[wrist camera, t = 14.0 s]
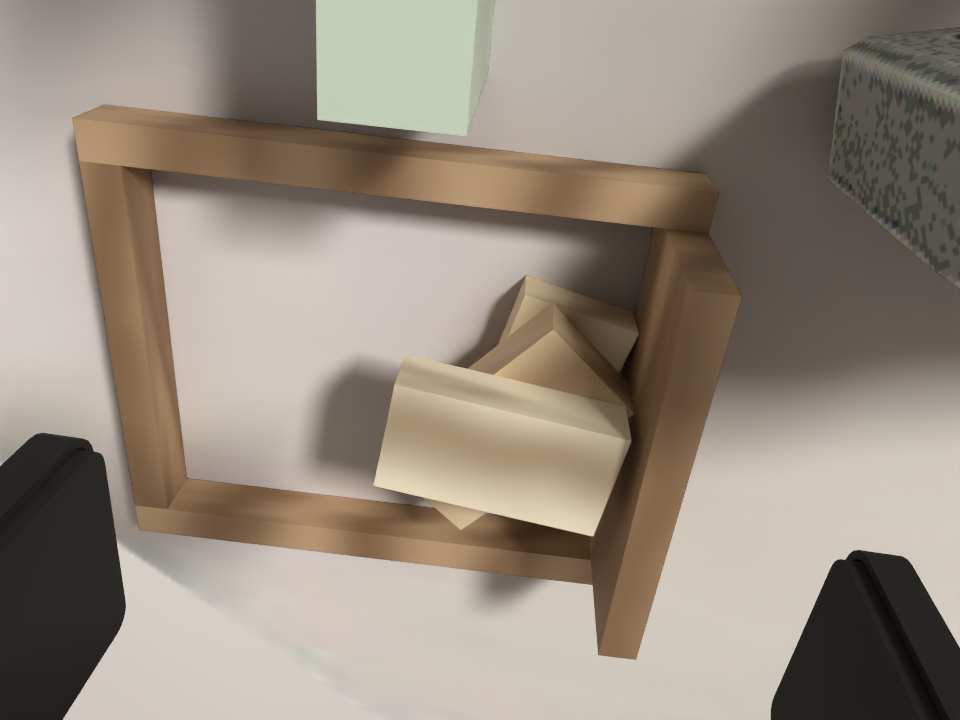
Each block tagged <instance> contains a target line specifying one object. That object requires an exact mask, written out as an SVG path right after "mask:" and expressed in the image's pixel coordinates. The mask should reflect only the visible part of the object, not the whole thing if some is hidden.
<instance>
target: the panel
mask: <svg viewBox="0 0 960 720" xmlns="http://www.w3.org/2000/svg"><path fill="white" fill-rule="evenodd" d="M494 3H495V0H316V55H317V120H323V121H332V122H341V123H350V124H359V125H368V126H377V127H386V128H396V129H405V130H414V131H423V132H432V133H441V134H450V135H459V136H467V133H468V130H469V128H470V125H471V122H472V119H473V116H474V113H475V110H476V107H477V104H478V101H479V98H480V95H481V92H482V89H483V86H484V83H485V80H486V77H487V74H488V68H489V57H490V46H491V36H492V25H493V14H494Z"/></svg>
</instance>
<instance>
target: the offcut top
mask: <svg viewBox="0 0 960 720" xmlns="http://www.w3.org/2000/svg"><path fill="white" fill-rule="evenodd" d="M631 441H632V440H631V435H630V429H629V423H628V418H627V412H626V407H625V406H620V405H616V404H612V403H608V402H604V401H600V400H595V399H591V398H587V397H583V396H579V395H575V394H570V393H566V392H562V391H558V390H554V389H550V388H545V387H541V386H537V385H533V384H529V383H524V382H520V381H516V380H512V379H508V378H503V377H499V376H495V375H491V374H487V373H483V372H479V371H475V370H470V369H466V368H462V367H458V366H454V365H449V364H445V363H441V362H437V361H433V360H429V359H424V358H420V357H416V356H412V355H408V354H405V355H404V358H403V361H402V364H401V367H400V370H399V373H398V376H397V379H396V382H395V385H394V390H393V394H392V399H391V404H390V409H389V414H388V418H387V423H386V428H385V433H384V437H383V442H382V447H381V452H380V457H379V461H378V466H377V471H376V476H375V480H374V485H373V486H376V487H381V488H385V489H389V490H394V491H398V492H402V493H407V494H411V495H415V496H420V497H424V498H428V499H433V500H437V501H441V502H446V503H450V504H454V505H459V506H463V507H467V508H471V509H476V510H480V511H484V512H489V513H493V514H497V515H502V516H506V517H510V518H515V519H519V520H523V521H528V522H532V523H536V524H541V525H545V526H549V527H554V528H558V529H562V530H567V531H571V532H575V533H580V534H584V535H588V536H594V533H595V531H596V528H597V526H598V523H599V521H600V518H601V516H602V513H603V511H604V508H605V506H606V503H607V501H608V498H609V496H610V493H611V491H612V488H613V486H614V483H615V481H616V478H617V476H618V473H619V471H620V468H621V466H622V464H623V461H624V459H625V456H626V454H627V451H628V449H629V446H630V444H631Z"/></svg>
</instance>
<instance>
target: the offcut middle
mask: <svg viewBox="0 0 960 720" xmlns="http://www.w3.org/2000/svg"><path fill="white" fill-rule="evenodd" d="M468 369H470V370H475V371H479V372H483V373H487V374H491V375H495V376H499V377H503V378H508V379H512V380H516V381H520V382H524V383H529V384H533V385H537V386H541V387H545V388H550V389H554V390H558V391H562V392H566V393H570V394H575V395H579V396H583V397H587V398H591V399H595V400H600V401H604V402H608V403H612V404H616V405H620V406H625V407H626V412H627V418H629V417H631V416H632V415H634V410H633V405H632V399H631V394H630V389H629V383H628V382H627V381H626V380H625V379H624V378H623V377H622V376H621V375H620V374H619V373H618V372H617V370H616V369H615V368H614V367H613V366H612V365H611V364H610V363H609V362H608V361H607V360H606V359H605V358H604V357H603V356H602V355H601V353H600V352H599V351H598V350H597V349H596V348H595V347H594V346H593V345H592V344H591V343H590V342H589V341H588V340H587V339H586V338H585V336H584V335H583V334H582V333H581V332H580V331H579V330H578V329H577V328H576V327H575V326H574V325H573V324H572V323H571V322H570V321H569V320H568V318H567V317H566V316H565V315H564V314H563V313H562V312H561V311H560V310H559V309H558V308H557V307H556V306H555V305H554V304H553V303H552V304H550V305H549V306H548V307H546V308H545V309H544V310H543V311H541V312H540V313H539V314H537V315H536V316H535V317H534V318H532V319H531V320H530V321H528V322H527V323H526V324H525V325H523V326H522V327H521V328H519V329H518V330H517V331H515V332H514V333H513V334H512V335H510V336H509V337H508V338H506V339H505V340H504V341H503V342H501V343H500V344H499V345H497V346H496V347H495V348H494V349H492V350H491V351H490V352H488V353H487V354H486V355H484V356H483V357H482V358H481V359H479V360H478V361H477V362H475V363H474V364H473V365H472V366H470V367H469V368H468ZM423 498H424V497H423ZM424 499H425V500H427V501H428V502H429V503H430V504H431V505H432V506H433V507H435V508H436V509H437V510H438V511H439V512H440V513H442V514H443V515H444V516H445V517H446V518H447V519H448V520H450V521H451V522H452V523H453V524H454V525H455V526H457V527H458V528H459V529H460V530H462V529H463V528H465V527H466V526H468V525H469V524H471V523H472V522H474V521H475V520H477V519H478V518H480V517H481V516H483V515H484V514H486V513H487V512H484V511H480V510H476V509H471V508H467V507H463V506H459V505H454V504H450V503H446V502H441V501H437V500H433V499H428V498H424Z"/></svg>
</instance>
